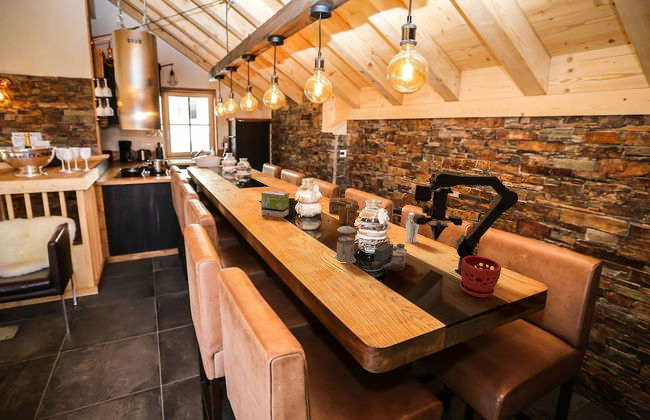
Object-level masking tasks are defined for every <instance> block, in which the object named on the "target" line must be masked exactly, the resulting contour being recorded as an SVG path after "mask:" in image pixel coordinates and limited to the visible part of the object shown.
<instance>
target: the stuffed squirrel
mask: <svg viewBox="0 0 650 420" xmlns="http://www.w3.org/2000/svg"><path fill="white" fill-rule="evenodd" d="M347 211H348V220H347ZM356 211H357V212H356ZM358 211H360V205H359V203H358V204H356V203H350V208H349V210H348V209H347V208H345V207H342V208H340V209H339V211H338V213H337V214H338V218H339V219H338V221H339V223H340V224H341V225H346V226H350V227H355V226H354V223H355V220H356V219H357V220H358V218H359V217H358V216H359V214H361V213H359V212H358Z"/></svg>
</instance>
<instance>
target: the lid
mask: <svg viewBox="0 0 650 420" xmlns="http://www.w3.org/2000/svg"><path fill="white" fill-rule="evenodd" d="M394 244H395V243H394ZM394 244H393V243H389V242H386V243H384V244H383V245H380V246H378V247H376V248H375V249H374V253H373V254H374V256H373V257H374V258H373V262H374V261H376V262H380V263H381V262H383V261H384V260H386V259H388V258H389V257H391V256H405V255H406V256H407V253H408V250H407V249H406V248H405V245H406V244H404V243H400V242H399V243H398V244H396V245H394Z"/></svg>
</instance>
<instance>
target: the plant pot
mask: <svg viewBox="0 0 650 420" xmlns="http://www.w3.org/2000/svg"><path fill="white" fill-rule="evenodd" d="M471 262H472V264H470V263H471ZM480 264H482V265H480ZM473 266H475V267H473ZM491 267H492V268H493V269H491ZM501 271H502V265H501V264H500V263H499V262H498V261H497V260H494V259H492V258H489V257H485V256H481V255H475V256H466V257H464V258H463V259H462V264H461V275H460V277H461V282H459V287H460V289H461V290H462V291H463V292H464V293H466V294H468V295H470V296H472V297H475V298H476V297H477V298H489V297H491V296H493V295H494V294H495V289H494V288H495V287H496V286H497V283H498V282H499V280H500V275H501V273H502V272H501Z"/></svg>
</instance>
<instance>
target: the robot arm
mask: <svg viewBox="0 0 650 420" xmlns="http://www.w3.org/2000/svg"><path fill="white" fill-rule="evenodd" d="M457 186H474V187H475V186H477V187H491V188H492V190H493V191H494V192H496V194H497V195H496V197H495V198H494V202H493V204H492V205H491V207H490V209H489V210H488V211H487V212H486V213H485V215H483V217H482V218H481V219H480V220H479V221H478V223H476V225H475V226H474V227H473V229H472V230H471V231H470V232H469V233H468V234H466V235H464V234H463V233H461V235H460V236H459V238H458V239H457V240H455V250H456V253H457V255H458V256H459V260H458V264H457V265H458V266H457V268H455V269H454V272H456V273H457V274H458V275H460V276H461V264H462V259H463V258H464V257H466V256H476V254H475V249H476V247H477V245H478V242H479V241H480V239H481V238H482V237H483V236H484V235H485V234H486V233H487V231H488V230H489V229H490V228H492V226H493V224H494V223H495V222H496V221H497V220H498V219H499V218H500V216H501V215H502V214H503V213H506V212H507V211H509V210H510V209H512V208H513V207H514V206H515V205H516V204H517V203H518V202H519V195H518V193H517V192H515V191H514V190H512V189H511V188H509V187H507V186H506V185H505V184H504V183H503V182H502V181H501V180H500V179H499V177H497V176H496V175H493V174H491V175H469V174H467V175H466V174H456V173H452V172H447V171H439V172H437V173H436V175H434V179H433V180H432V181H431V183H430V184H428V185H421V184H415V189H414V190H415V191H414V194H413V201H414V202H421V203H428V202H429V201H431V200H432V203H431V204H430V207H429V205H422V211H421V212H422V214H420V215H415V216H414V217H413V221H414V222H415V223H416V224H418V225H419V226H424V225H428V226H429V228H430V229H431V233H432V237H433V240H434V241H437V240H438V239H439V237H440V236H441V234H442V233H443V232H444V231H445V229H446V228H448V227H449V225H448V223H449V224H450V223H452V224H453V225H454V226H459V227H460V226H461V227H462V226H463V221H464V220H463V219H462V218H461V217H460V216H458V215H448V217H447V216H446V215H447V211H448V208H449V207H448V199H449V194H451V195H452V194H454V193H455V192H454V190H452V187H457ZM424 214H425V215H426V216H425V215H424ZM470 264H472V262H471V263H470ZM473 267H476V266H473Z"/></svg>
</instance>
